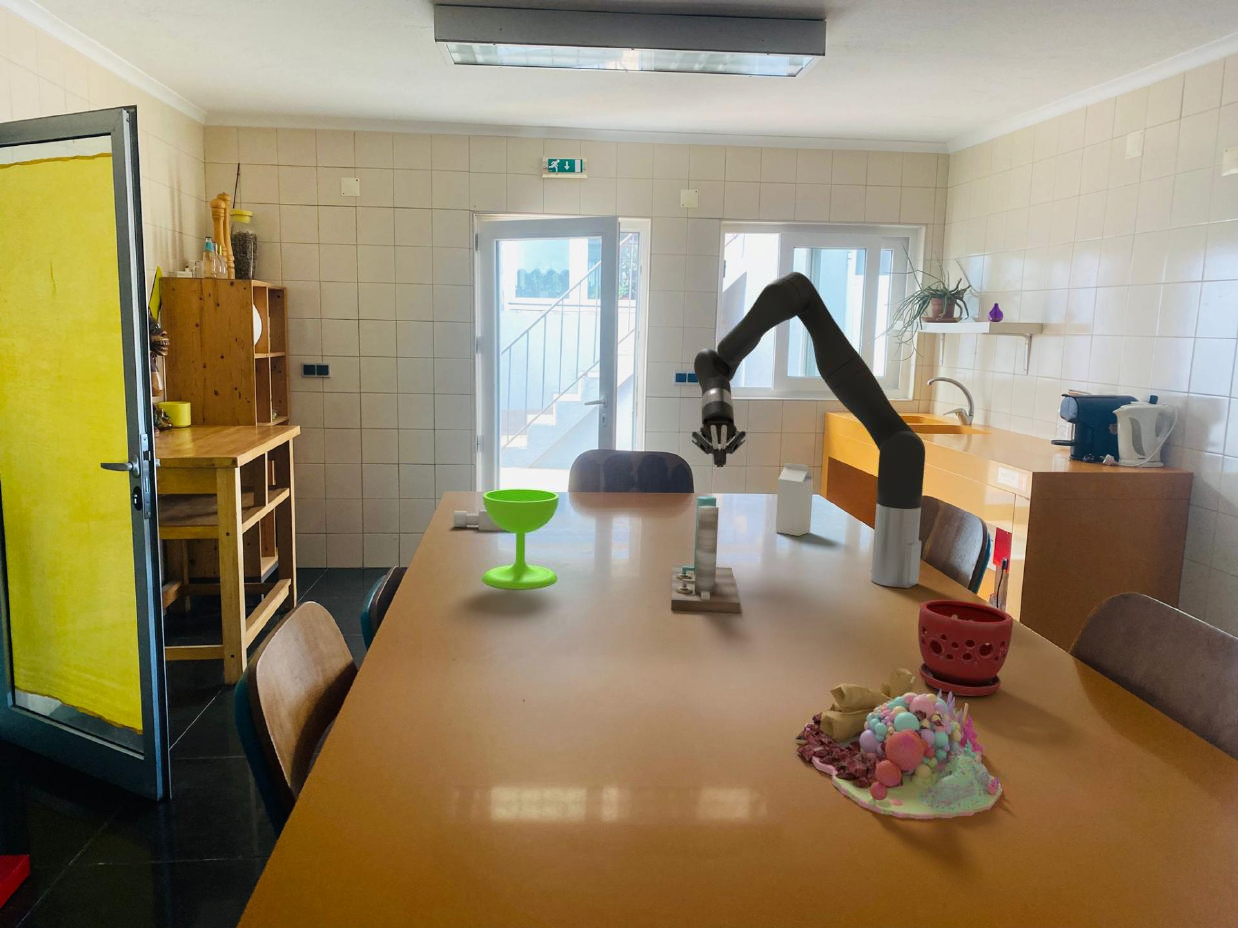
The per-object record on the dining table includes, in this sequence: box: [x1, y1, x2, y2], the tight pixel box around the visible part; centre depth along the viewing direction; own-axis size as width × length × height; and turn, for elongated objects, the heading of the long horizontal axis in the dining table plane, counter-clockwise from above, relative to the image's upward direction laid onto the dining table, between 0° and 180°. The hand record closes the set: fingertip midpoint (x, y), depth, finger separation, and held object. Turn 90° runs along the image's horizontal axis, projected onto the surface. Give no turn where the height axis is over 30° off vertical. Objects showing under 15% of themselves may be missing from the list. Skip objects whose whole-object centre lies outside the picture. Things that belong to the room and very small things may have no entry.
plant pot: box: [917, 599, 1014, 697], centre depth 131 cm, size 13×13×12 cm
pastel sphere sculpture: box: [795, 668, 1003, 820], centre depth 106 cm, size 25×24×9 cm
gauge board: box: [670, 506, 741, 614], centre depth 176 cm, size 26×13×19 cm, turn 176°
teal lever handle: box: [682, 495, 717, 575], centre depth 179 cm, size 4×6×16 cm, turn 86°
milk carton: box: [775, 462, 814, 537], centre depth 235 cm, size 7×7×19 cm
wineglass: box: [481, 488, 560, 590], centre depth 182 cm, size 16×16×18 cm
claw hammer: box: [453, 509, 505, 531], centre depth 244 cm, size 6×22×30 cm
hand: (720, 464), depth 192 cm, fingers closed
